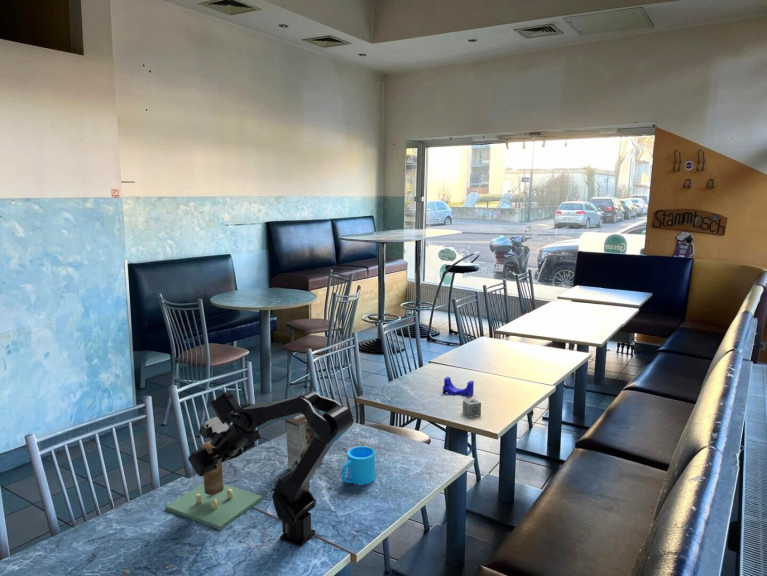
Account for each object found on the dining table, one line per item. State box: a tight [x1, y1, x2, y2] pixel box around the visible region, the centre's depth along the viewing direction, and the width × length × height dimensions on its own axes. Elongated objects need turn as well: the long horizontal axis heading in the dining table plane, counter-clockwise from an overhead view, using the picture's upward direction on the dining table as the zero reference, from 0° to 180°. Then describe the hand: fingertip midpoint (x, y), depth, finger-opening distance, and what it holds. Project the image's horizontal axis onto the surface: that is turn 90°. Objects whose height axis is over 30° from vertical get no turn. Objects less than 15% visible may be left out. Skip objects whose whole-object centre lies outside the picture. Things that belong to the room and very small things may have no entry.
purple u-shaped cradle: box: [442, 376, 474, 397], centre depth 232 cm, size 12×4×6 cm, turn 61°
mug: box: [340, 445, 376, 486], centre depth 162 cm, size 12×8×8 cm
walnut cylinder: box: [200, 440, 224, 495], centre depth 149 cm, size 5×5×13 cm
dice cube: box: [462, 398, 482, 418], centre depth 211 cm, size 5×5×5 cm
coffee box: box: [285, 413, 323, 471], centre depth 170 cm, size 9×6×16 cm
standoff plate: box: [164, 482, 263, 531], centre depth 151 cm, size 20×16×4 cm
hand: (208, 466), depth 150 cm, fingers closed on walnut cylinder, 5 cm apart
